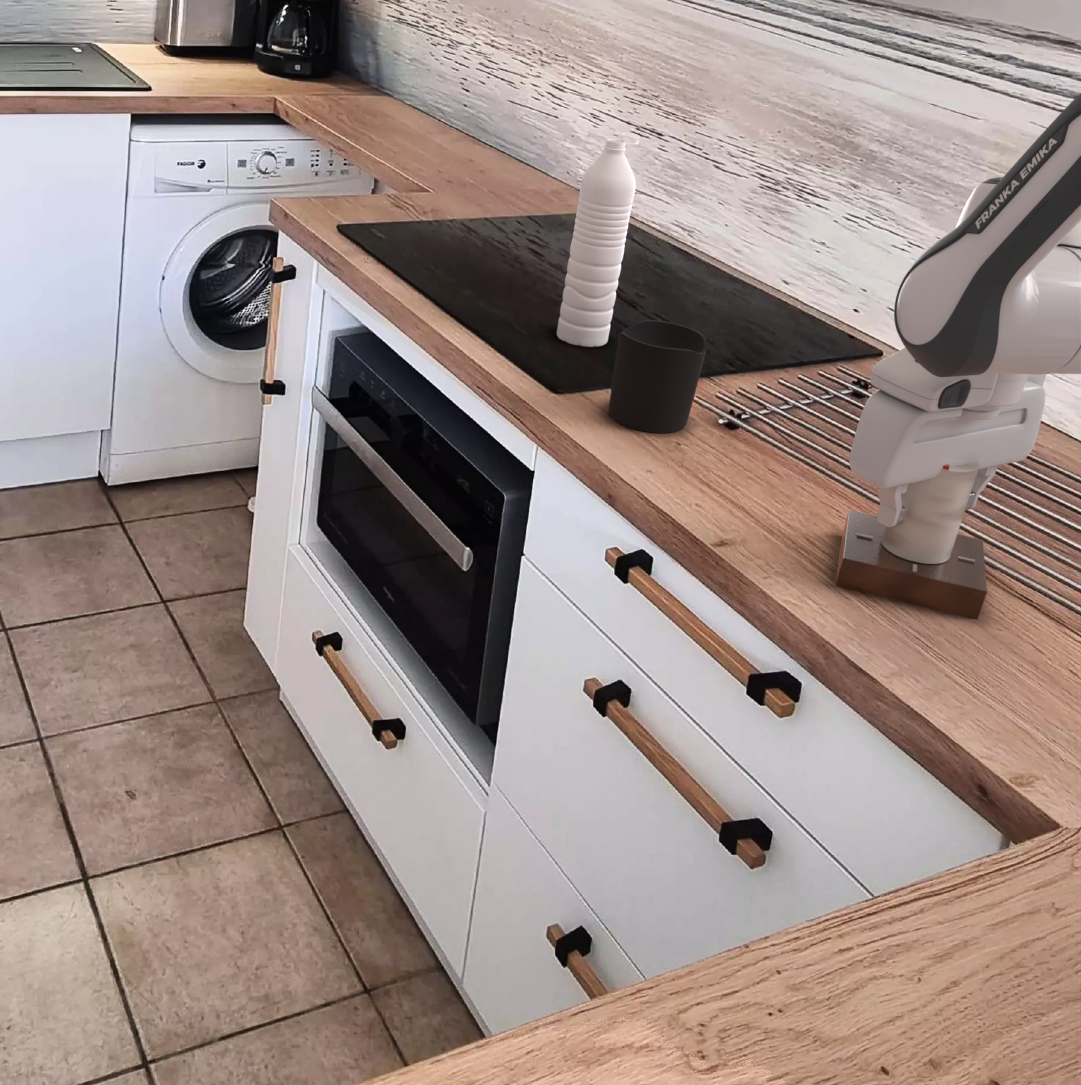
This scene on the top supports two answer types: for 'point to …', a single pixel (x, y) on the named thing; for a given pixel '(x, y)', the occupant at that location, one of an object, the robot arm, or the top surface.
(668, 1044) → the top surface
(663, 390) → the pen holder
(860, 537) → the roll stand
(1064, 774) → the top surface
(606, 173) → the water bottle
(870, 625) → the top surface
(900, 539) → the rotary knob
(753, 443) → the top surface
